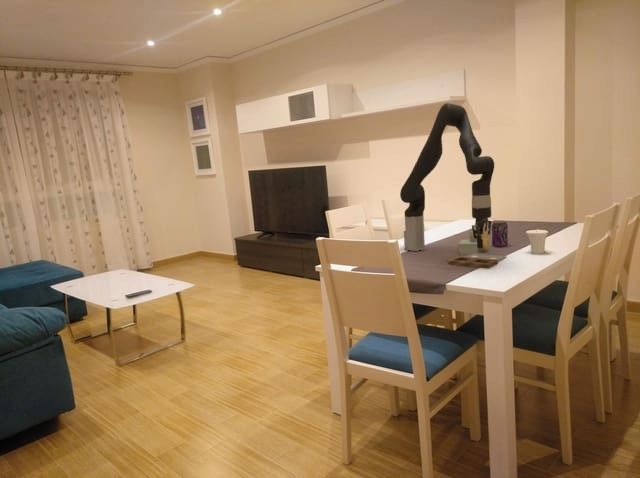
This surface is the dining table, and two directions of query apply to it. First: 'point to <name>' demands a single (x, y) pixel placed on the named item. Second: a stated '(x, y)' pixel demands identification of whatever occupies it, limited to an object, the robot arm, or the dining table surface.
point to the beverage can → (499, 234)
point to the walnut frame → (473, 262)
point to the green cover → (469, 245)
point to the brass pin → (484, 243)
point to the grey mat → (487, 256)
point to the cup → (537, 240)
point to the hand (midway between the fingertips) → (482, 246)
